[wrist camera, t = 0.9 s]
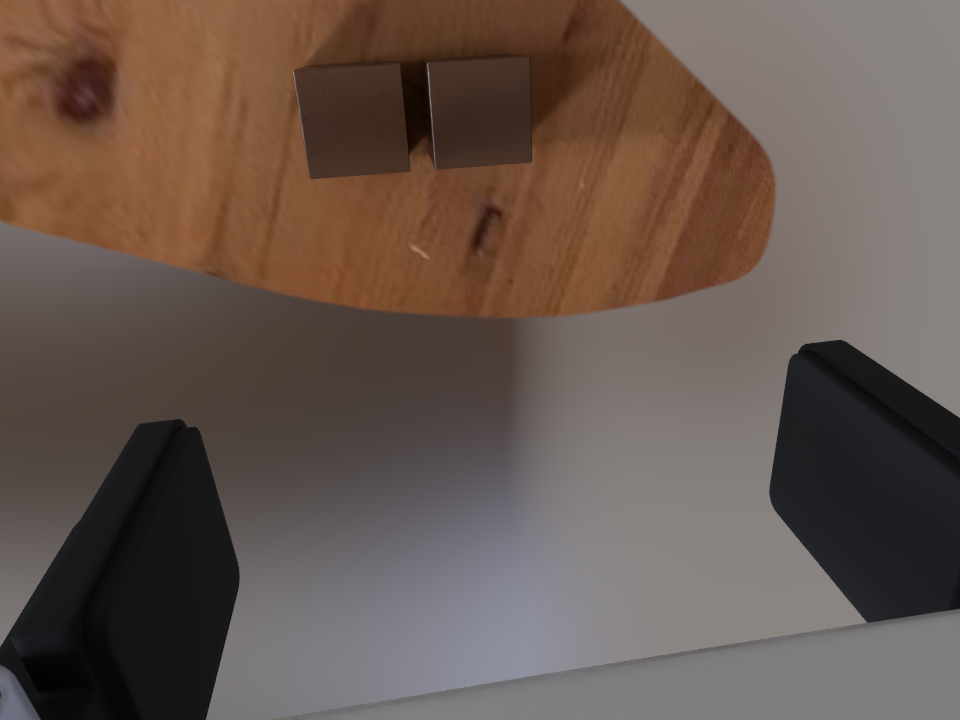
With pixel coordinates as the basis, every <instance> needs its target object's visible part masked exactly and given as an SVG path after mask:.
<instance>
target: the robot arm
mask: <svg viewBox="0 0 960 720" xmlns="http://www.w3.org/2000/svg"><path fill="white" fill-rule="evenodd" d="M769 492H770V499H771V503H772V505H773V508H774V509H775V511H776V512H777V514H778V515H779V516H780V517H781V519H782V520H783V521H784V522H785V523H786V524H787V526H788V527H789V528H790V529H791V531H792V532H793V533H794V534H795V536H796V537H797V538H798V539H799V540H800V542H801V543H802V544H803V545H804V546H805V548H806V549H807V550H808V551H809V552H810V554H811V555H812V556H813V557H814V559H815V560H816V561H817V562H818V563H819V565H820V566H821V567H822V568H823V569H824V571H825V572H826V573H827V574H828V575H829V576H830V578H831V579H832V580H833V582H834V583H835V584H836V585H837V587H838V588H839V589H840V590H841V591H842V592H843V594H844V595H845V596H846V597H847V599H848V600H849V601H850V602H851V603H852V605H853V606H854V607H855V608H856V609H857V611H858V612H859V613H860V614H861V616H862V617H863V618H864V619H865V620H866V622H867V623H865V624H858V625H852V626H846V627H839V628H832V629H826V630H820V631H813V632H807V633H800V634H794V635H788V636H781V637H774V638H768V639H761V640H755V641H749V642H743V643H736V644H731V645H724V646H717V647H711V648H705V649H698V650H692V651H686V652H680V653H674V654H667V655H661V656H655V657H648V658H643V659H636V660H630V661H624V662H617V663H611V664H606V665H599V666H593V667H586V668H580V669H574V670H568V671H562V672H555V673H549V674H543V675H537V676H531V677H525V678H519V679H513V680H507V681H501V682H495V683H489V684H483V685H477V686H471V687H465V688H459V689H453V690H447V691H441V692H435V693H429V694H423V695H417V696H411V697H405V698H399V699H393V700H387V701H381V702H375V703H369V704H362V705H357V706H350V707H345V708H339V709H333V710H327V711H321V712H315V713H309V714H303V715H297V716H291V717H286V718H280V719H274V720H960V418H959V417H958V416H956V415H954V414H953V413H951V412H950V411H948V410H947V409H946V408H944V407H942V406H941V405H940V404H938V403H936V402H935V401H933V400H932V399H931V398H929V397H928V396H926V395H925V394H923V393H921V392H920V391H918V390H917V389H915V388H914V387H913V386H911V385H910V384H908V383H906V382H905V381H904V380H902V379H901V378H899V377H898V376H896V375H895V374H893V373H892V372H890V371H889V370H887V369H886V368H884V367H883V366H881V365H880V364H878V363H877V362H875V361H874V360H872V359H871V358H869V357H868V356H866V355H865V354H863V353H861V352H860V351H859V350H857V349H856V348H854V347H853V346H851V345H850V344H848V343H847V342H845V341H842V340H835V341H826V342H818V343H810V344H805V345H803V346H802V347H801V348H800V350H799V351H798V354H794V355H793V356H792V357H791V359H790V361H789V364H788V371H787V377H786V384H785V390H784V397H783V404H782V410H781V417H780V423H779V430H778V436H777V443H776V450H775V456H774V462H773V469H772V476H771V482H770V491H769ZM239 579H240V578H239V566H238V561H237V558H236V555H235V551H234V547H233V544H232V541H231V537H230V534H229V530H228V527H227V523H226V520H225V517H224V513H223V509H222V506H221V502H220V500H219V496H218V492H217V489H216V485H215V482H214V478H213V475H212V471H211V468H210V465H209V461H208V457H207V454H206V451H205V447H204V444H203V440H202V437H201V434H200V431H199V430H198V428H196V427H188V428H187V426H186V424H185V423H184V421H182V420H181V419H175V420H167V421H159V422H150V423H143V424H139V425H138V426H137V427H136V429H135V431H134V432H133V434H132V436H131V437H130V439H129V441H128V442H127V444H126V446H125V447H124V449H123V451H122V452H121V454H120V456H119V457H118V459H117V461H116V462H115V464H114V465H113V467H112V469H111V471H110V472H109V474H108V475H107V477H106V479H105V480H104V482H103V484H102V485H101V487H100V488H99V490H98V492H97V493H96V495H95V497H94V498H93V500H92V502H91V503H90V505H89V507H88V508H87V510H86V512H85V513H84V515H83V517H82V518H81V520H80V521H79V522H78V523H77V524H76V525H75V527H74V528H73V529H72V531H71V532H70V534H69V536H68V537H67V539H66V541H65V542H64V544H63V546H62V547H61V549H60V550H59V552H58V554H57V555H56V557H55V559H54V560H53V562H52V563H51V565H50V567H49V568H48V570H47V572H46V573H45V575H44V577H43V578H42V580H41V582H40V583H39V585H38V586H37V588H36V590H35V591H34V593H33V595H32V596H31V598H30V599H29V601H28V603H27V605H26V606H25V608H24V609H23V611H22V613H21V614H20V616H19V617H18V619H17V621H16V622H15V624H14V626H13V627H12V629H11V631H10V632H9V634H8V635H7V637H6V639H5V640H4V642H3V644H2V645H1V647H0V720H206V717H207V713H208V709H209V705H210V701H211V697H212V693H213V689H214V685H215V681H216V676H217V673H218V669H219V665H220V661H221V657H222V653H223V648H224V644H225V641H226V637H227V633H228V629H229V625H230V621H231V617H232V613H233V609H234V605H235V601H236V597H237V592H238V587H239Z"/></svg>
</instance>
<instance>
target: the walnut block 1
mask: <svg viewBox="0 0 960 720" xmlns="http://www.w3.org/2000/svg"><path fill="white" fill-rule="evenodd" d="M293 75H294V81H295V87H296V94H297V100H298V107H299V113H300V120H301V126H302V133H303V139H304V145H305V152H306V158H307V165H308V171H309V178H310V179H318V178H332V177H345V176H358V175H372V174H385V173H398V172H410V162H409V152H408V141H407V130H406V119H405V108H404V98H403V87H402V76H401V65H400V63H399V62H398V61H389V62H372V63H356V64H339V65H322V66H305V67H301V68H298V69H296V70H293Z"/></svg>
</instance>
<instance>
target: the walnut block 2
mask: <svg viewBox="0 0 960 720" xmlns="http://www.w3.org/2000/svg"><path fill="white" fill-rule="evenodd" d="M421 64H422V76H423V89H424V101H425V114H426V126H427V139H428V151H429V156H430V158H431V160H432V163H433V165H434V167H435V169H436V170H437V169H451V168H464V167H477V166H491V165H504V164H517V163H531V162H532V128H531V71H530V56H523V55H513V54H508V55H491V56H474V57H457V58H440V59H423V60H421Z"/></svg>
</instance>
